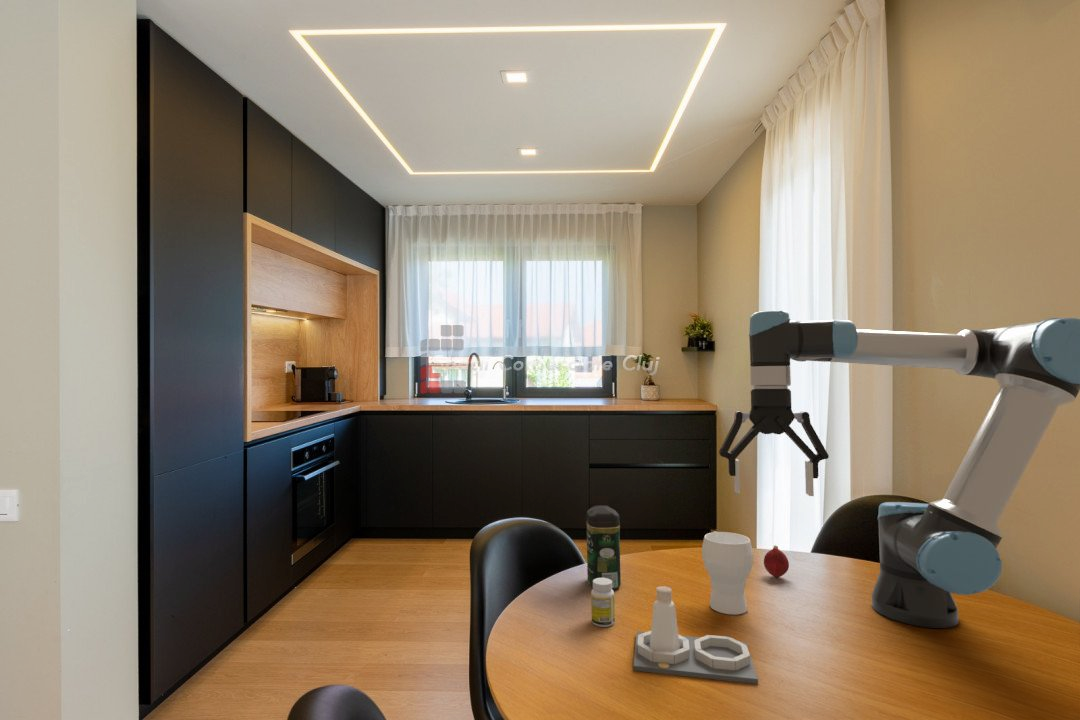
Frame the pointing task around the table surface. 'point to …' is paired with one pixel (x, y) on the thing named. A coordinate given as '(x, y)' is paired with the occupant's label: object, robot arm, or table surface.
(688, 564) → the table surface
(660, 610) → the pepper shaker
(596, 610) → the supplement bottle
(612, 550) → the coffee jar
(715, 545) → the cup
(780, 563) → the onion
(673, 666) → the collar board
